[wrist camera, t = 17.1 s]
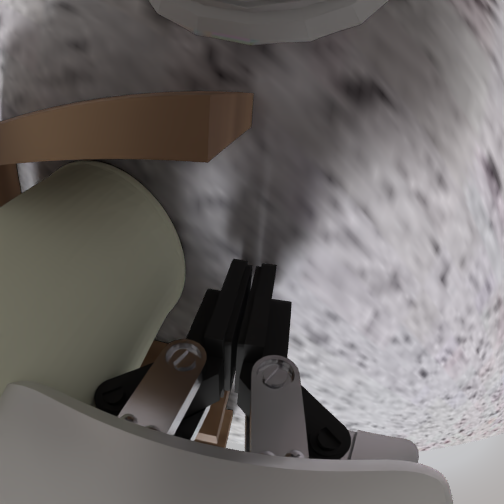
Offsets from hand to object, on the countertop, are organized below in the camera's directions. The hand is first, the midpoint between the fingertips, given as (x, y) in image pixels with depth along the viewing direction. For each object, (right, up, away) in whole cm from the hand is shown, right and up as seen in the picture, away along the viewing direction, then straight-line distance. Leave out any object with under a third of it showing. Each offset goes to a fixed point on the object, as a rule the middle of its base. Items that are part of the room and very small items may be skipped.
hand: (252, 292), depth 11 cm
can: (-7, +2, +2) cm, 8 cm away
